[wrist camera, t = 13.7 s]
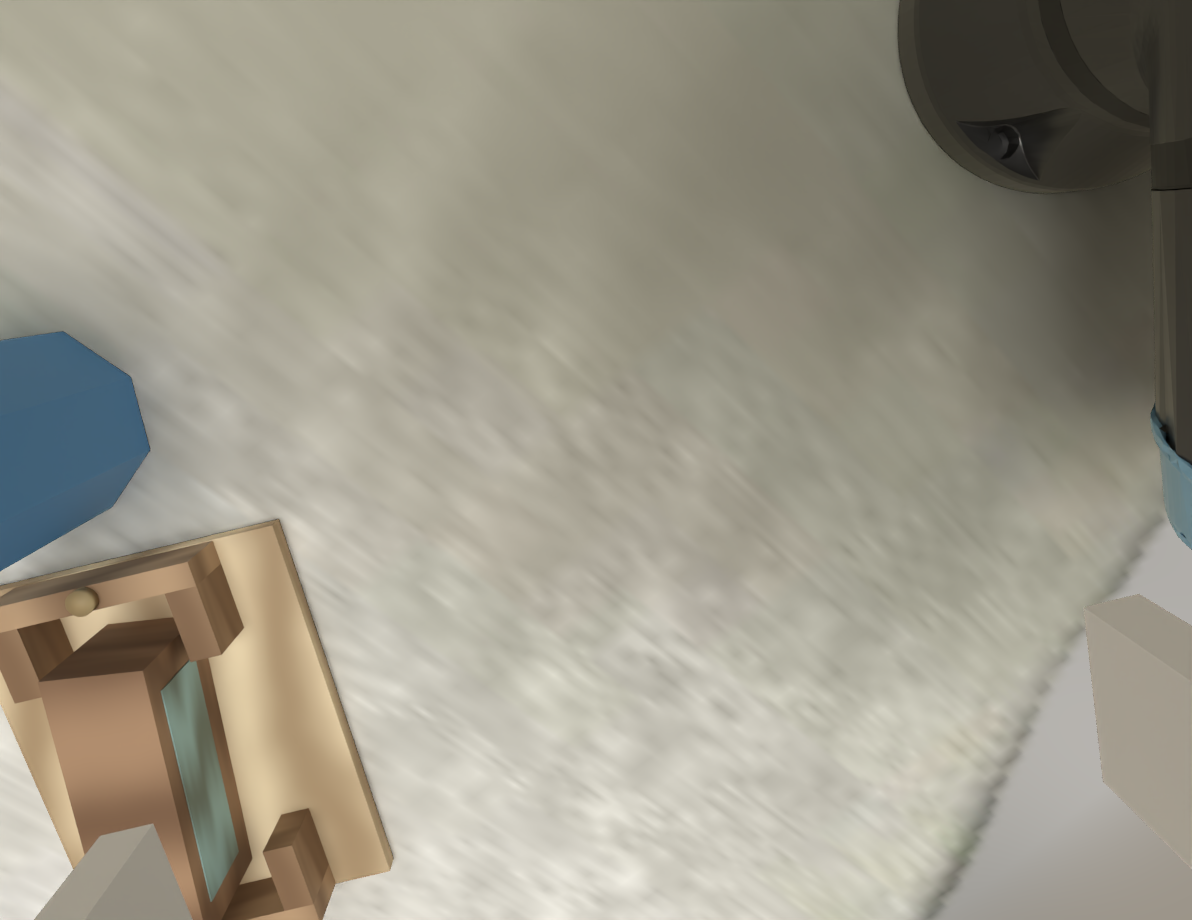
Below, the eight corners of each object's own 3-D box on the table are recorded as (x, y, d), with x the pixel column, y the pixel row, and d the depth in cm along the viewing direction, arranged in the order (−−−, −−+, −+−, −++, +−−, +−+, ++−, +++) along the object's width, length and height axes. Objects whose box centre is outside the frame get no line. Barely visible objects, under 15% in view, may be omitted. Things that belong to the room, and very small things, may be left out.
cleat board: (278, 519, 44) (246, 550, 39) (393, 858, 49) (376, 920, 44) (-32, 593, 44) (-99, 632, 40) (112, 923, 49) (67, 991, 44)
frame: (106, 624, 44) (36, 682, 38) (199, 614, 44) (144, 670, 38) (166, 867, 47) (110, 955, 41) (253, 858, 47) (210, 944, 41)
